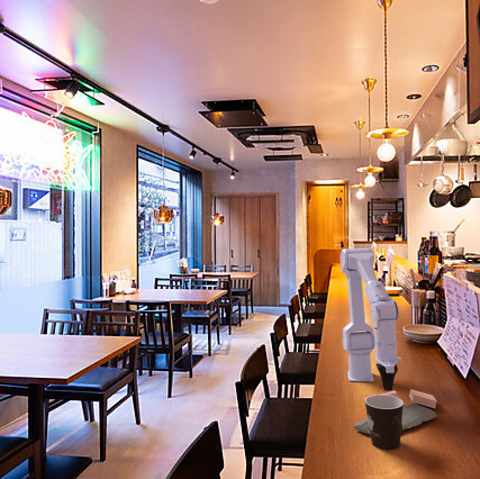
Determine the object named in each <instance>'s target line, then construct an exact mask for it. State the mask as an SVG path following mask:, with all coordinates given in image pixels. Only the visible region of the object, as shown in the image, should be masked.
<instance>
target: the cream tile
mask: <svg viewBox="0 0 480 479" xmlns="http://www.w3.org/2000/svg"><path fill="white" fill-rule="evenodd" d="M397 393H398V392H397V391H396V390H392V391H386V392H384V393H381V394H380V393H379V394H378V395H390V396H394V397H397V398H399V399H400V397H399V395H398V394H397Z"/></svg>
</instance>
